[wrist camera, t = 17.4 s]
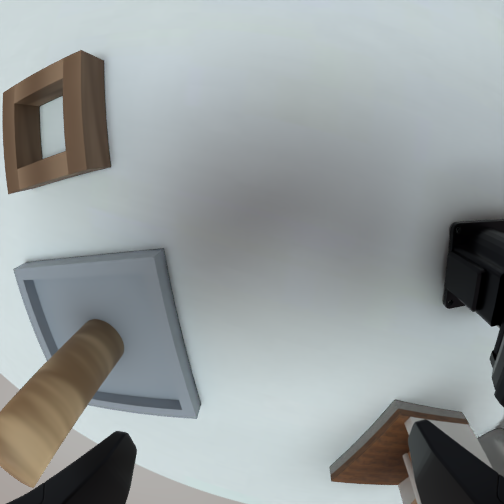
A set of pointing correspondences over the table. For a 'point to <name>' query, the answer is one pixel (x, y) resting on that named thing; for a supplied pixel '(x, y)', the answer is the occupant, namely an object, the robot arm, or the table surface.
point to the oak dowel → (56, 400)
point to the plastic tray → (117, 325)
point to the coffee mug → (494, 448)
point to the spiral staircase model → (399, 448)
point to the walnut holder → (75, 123)
